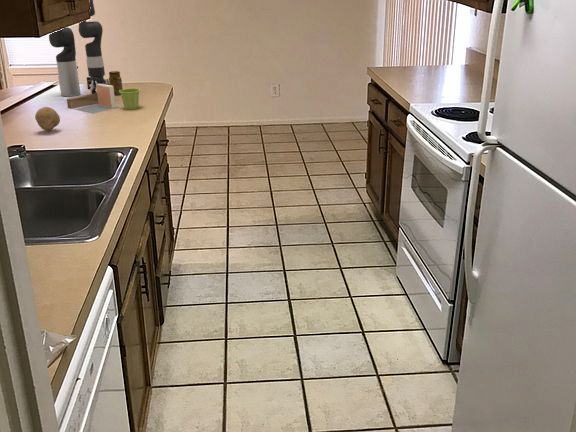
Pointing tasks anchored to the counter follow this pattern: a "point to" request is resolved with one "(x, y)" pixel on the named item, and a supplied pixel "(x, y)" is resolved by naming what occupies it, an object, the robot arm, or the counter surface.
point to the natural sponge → (47, 118)
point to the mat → (94, 109)
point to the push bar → (82, 100)
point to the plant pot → (130, 98)
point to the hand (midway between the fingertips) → (100, 99)
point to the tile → (106, 95)
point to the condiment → (115, 82)
